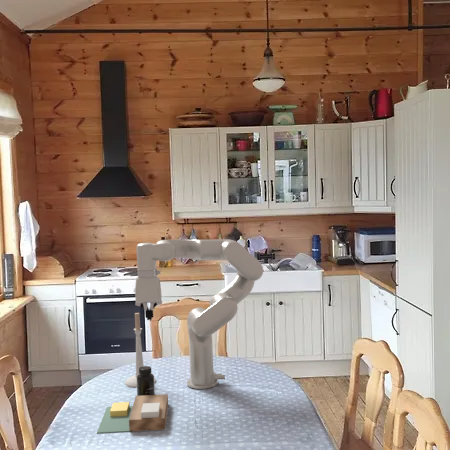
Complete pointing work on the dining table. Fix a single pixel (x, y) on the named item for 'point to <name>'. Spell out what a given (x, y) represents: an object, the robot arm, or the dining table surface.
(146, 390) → the supplement bottle
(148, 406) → the white flat block
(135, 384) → the candlestick
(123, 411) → the yellow rectangular block
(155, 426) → the board
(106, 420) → the mat
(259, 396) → the dining table surface
